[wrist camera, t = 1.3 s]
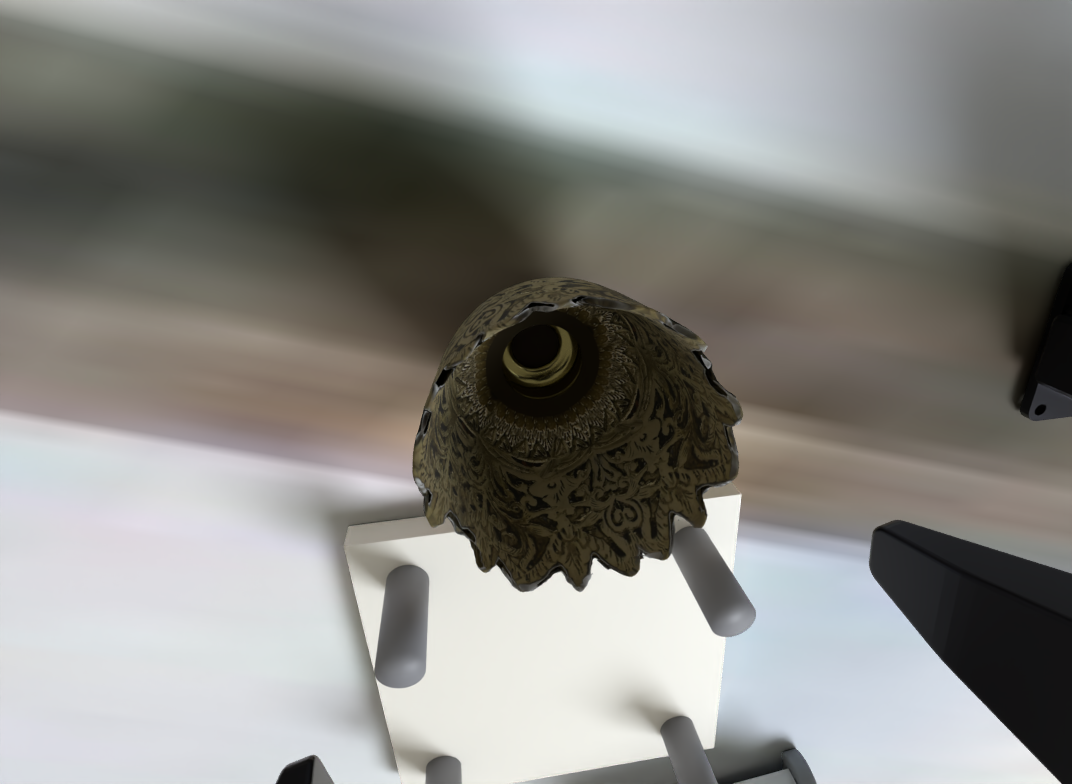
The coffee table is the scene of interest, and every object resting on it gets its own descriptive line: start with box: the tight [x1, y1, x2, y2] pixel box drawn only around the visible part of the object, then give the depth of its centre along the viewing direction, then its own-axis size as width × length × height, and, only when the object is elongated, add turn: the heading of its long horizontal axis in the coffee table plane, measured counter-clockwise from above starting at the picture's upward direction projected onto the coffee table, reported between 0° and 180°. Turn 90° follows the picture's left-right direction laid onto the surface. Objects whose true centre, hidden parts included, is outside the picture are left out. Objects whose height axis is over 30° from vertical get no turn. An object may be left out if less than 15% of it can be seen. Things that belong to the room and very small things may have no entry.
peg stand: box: [343, 482, 756, 784], centre depth 24 cm, size 15×15×5 cm
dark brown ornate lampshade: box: [413, 277, 743, 592], centre depth 17 cm, size 8×7×8 cm
